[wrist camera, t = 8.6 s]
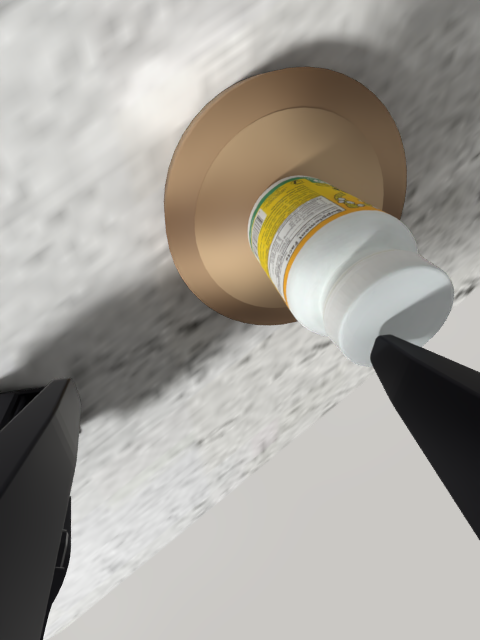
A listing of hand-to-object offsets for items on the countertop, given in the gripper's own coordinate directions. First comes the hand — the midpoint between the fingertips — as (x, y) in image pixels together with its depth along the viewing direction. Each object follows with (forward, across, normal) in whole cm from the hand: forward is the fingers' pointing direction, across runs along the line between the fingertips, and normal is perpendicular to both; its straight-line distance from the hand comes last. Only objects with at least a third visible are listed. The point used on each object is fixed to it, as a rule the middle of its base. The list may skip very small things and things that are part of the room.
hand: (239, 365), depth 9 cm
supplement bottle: (+10, -5, -1) cm, 11 cm away
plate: (+12, -5, -1) cm, 14 cm away
